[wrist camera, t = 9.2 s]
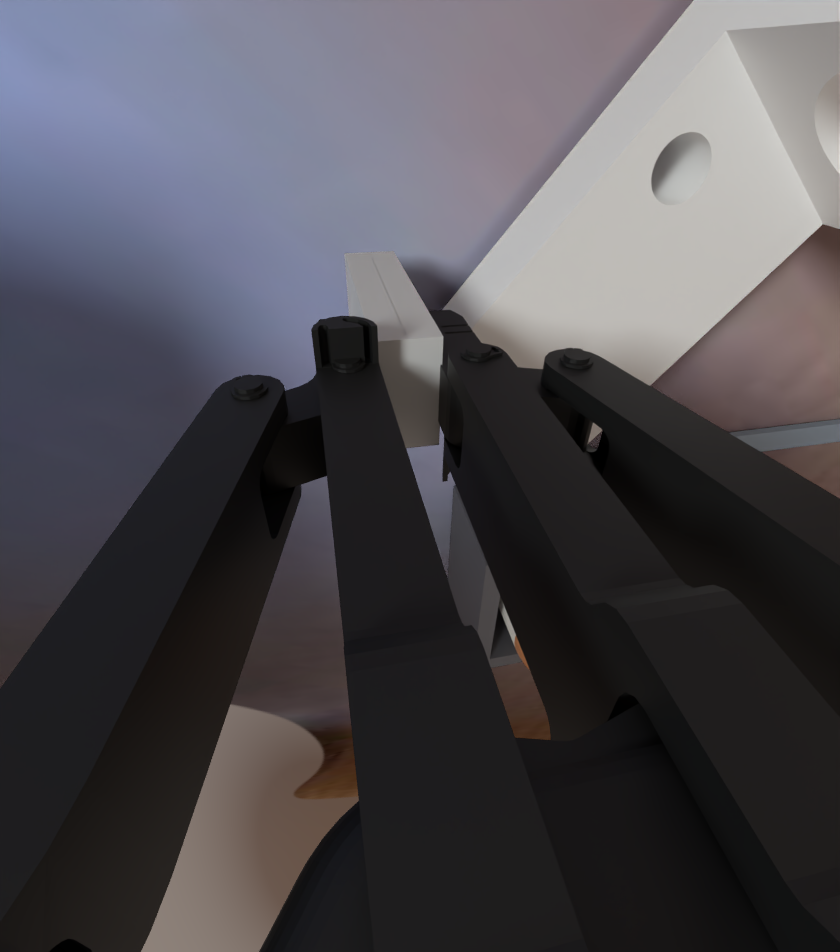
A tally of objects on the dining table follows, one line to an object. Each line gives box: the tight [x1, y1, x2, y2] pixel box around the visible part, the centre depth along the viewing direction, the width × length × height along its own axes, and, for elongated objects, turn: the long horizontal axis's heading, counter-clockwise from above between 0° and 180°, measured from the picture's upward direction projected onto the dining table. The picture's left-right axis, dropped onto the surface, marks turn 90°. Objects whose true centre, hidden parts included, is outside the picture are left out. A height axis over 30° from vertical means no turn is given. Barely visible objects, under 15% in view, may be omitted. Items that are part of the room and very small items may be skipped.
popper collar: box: [448, 486, 523, 668], centre depth 25 cm, size 8×8×5 cm
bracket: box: [442, 0, 840, 443], centre depth 16 cm, size 13×7×8 cm, turn 140°
